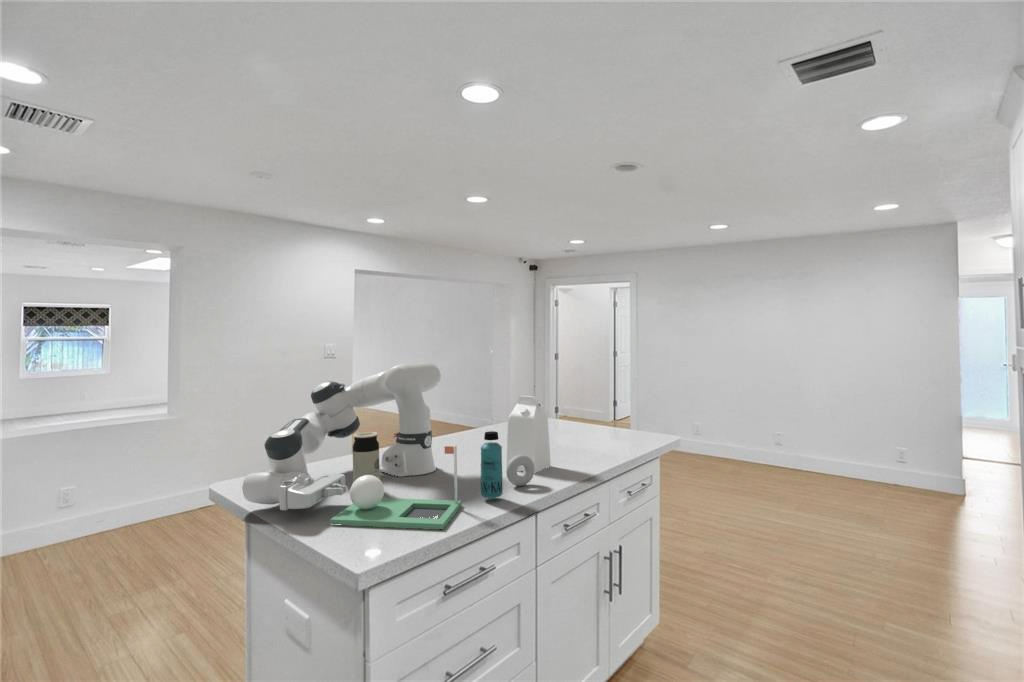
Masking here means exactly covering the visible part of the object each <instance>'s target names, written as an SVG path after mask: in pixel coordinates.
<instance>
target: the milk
mask: <svg viewBox="0 0 1024 682" xmlns="http://www.w3.org/2000/svg"><path fill="white" fill-rule="evenodd" d="M507 420H508V421H507V439H506V440H507V443H506V470H507V465H508V463H509V462H510V460H511V459H512V458H514V457H515V456H517V455H526V456H528V457H530V458H531V459H532V461H533V463H534V467H535V471H534V473H536V472H538V471H540V470H542V469H544V468H546V467H548V466H550V467H552V463H551V462H552V461H551V451H550V434H549V421H548V420H549V418H548V415H547V413H546V412H545V410H544V409H543V408H542V407H541V406H540V405H539V401H538V400H537V397H536V396H534V395H533V396H531V395H519V398H518V400H517V403H516V405H515V406H514V408H513V409H512V411H511V412H510V413H509V416H508V418H507ZM548 468H549V467H548ZM546 469H547V468H546ZM517 470H519V471H518V472H520V471H524V466H523V465H521V466H519V467H518V469H517ZM544 470H545V469H544ZM542 471H543V470H542ZM540 472H541V471H540ZM538 473H539V472H538ZM536 474H537V473H536Z"/></svg>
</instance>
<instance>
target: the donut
mask: <svg viewBox="0 0 1024 682" xmlns="http://www.w3.org/2000/svg"><path fill="white" fill-rule="evenodd" d="M506 465H507V464H506ZM521 465H523V466H524V472H522V474H520V475H519V474H518V473H517V472H518V471H517V469H518V467H519V466H521ZM505 471H506V473H505V474H506V478H507V480H508V481H509V483H511V485H514V486H516V487H522V486H525V485H527V484H528V483H530V482H531V481H532V479H533V478H534V475H535V474H534V471H535V467H534V463H533V461H532V459H531V458H530V457H528V456H526V455H517V456H515V457H514V458H512V459H511V460H510V462H509V463H508V465H507V469H506V470H505Z"/></svg>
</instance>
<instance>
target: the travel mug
mask: <svg viewBox="0 0 1024 682" xmlns="http://www.w3.org/2000/svg"><path fill="white" fill-rule="evenodd" d="M378 435H379V433H378V432H375V431H363V432H355V433H353V434H352V436H353V438H354V442H353V444H352V476H353V477H352V478H353V480H352V481H353V483H354V481H355V480H356V479H358V478H359V477H361V476H364V475H373V476H375V477H377V478H378V479H380V480H381V477H380V476H381V472H380V470H379V465H380V442H379V441H378ZM353 483H352V484H353Z"/></svg>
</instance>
